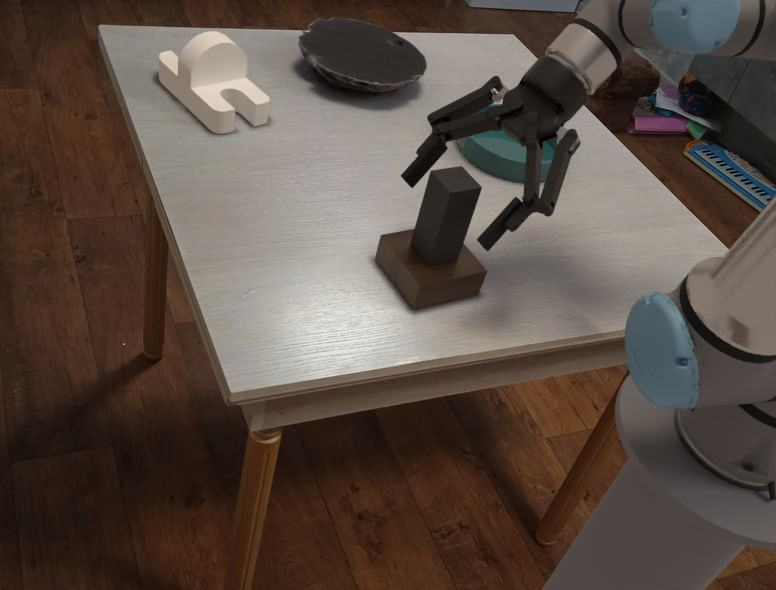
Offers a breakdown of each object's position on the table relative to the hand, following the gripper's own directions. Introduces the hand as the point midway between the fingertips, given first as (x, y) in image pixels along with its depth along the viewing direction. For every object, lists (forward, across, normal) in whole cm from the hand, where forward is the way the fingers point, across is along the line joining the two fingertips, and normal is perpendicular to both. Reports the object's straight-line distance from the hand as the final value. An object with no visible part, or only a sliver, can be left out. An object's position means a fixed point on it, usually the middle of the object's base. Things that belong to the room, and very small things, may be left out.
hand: (442, 213), depth 98 cm
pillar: (+4, 0, -5) cm, 7 cm away
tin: (-17, +18, -32) cm, 40 cm away
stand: (+7, 0, -8) cm, 11 cm away
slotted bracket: (+9, +48, -6) cm, 49 cm away
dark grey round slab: (-11, +46, -26) cm, 53 cm away
